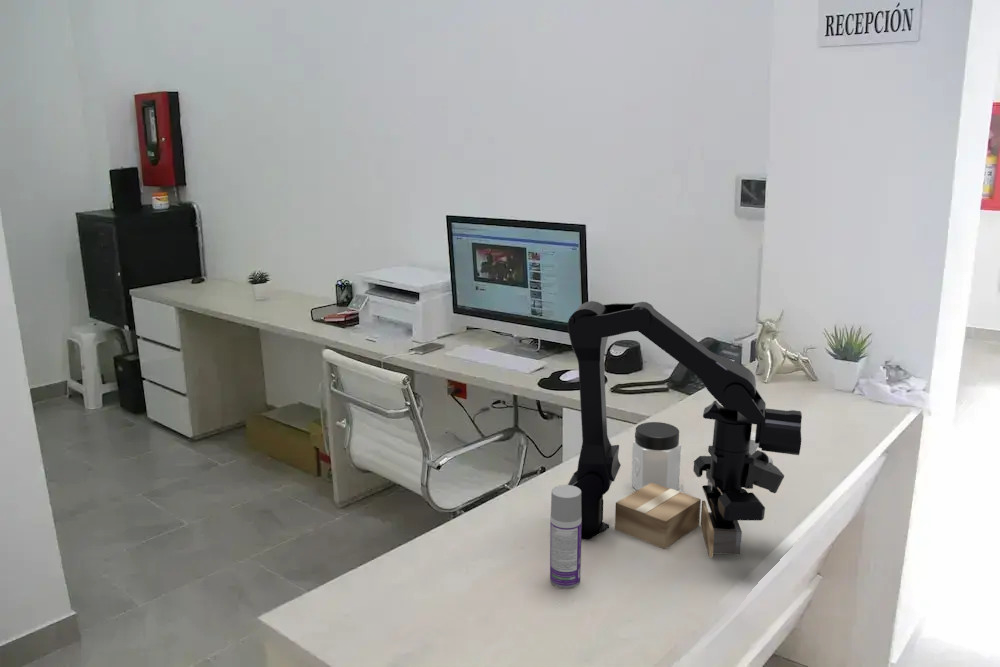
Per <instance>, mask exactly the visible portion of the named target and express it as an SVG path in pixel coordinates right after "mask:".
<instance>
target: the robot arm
mask: <svg viewBox="0 0 1000 667" xmlns="http://www.w3.org/2000/svg"><path fill="white" fill-rule="evenodd" d="M567 331H568V336H569V340H570V345H571V349H572V350H573V353H574V355H575V357H576V360H577V364H578V365H577V366H578V379H579V380H578V382H579V398H580V415H581V416H580V419H581V437H582V438H581V439H582V443H581V449H580V453H579V458H578V462H577V470H576V471H575V472H573V474H572V476H571V478H570V479H569V481H568V482H567V485H572V486H575V487H578V488H579V489H580V490H581V518H582V526H581V540H584V541H589V540H592V539H594V538H595V537H597V536H598V535H600V534H602V533H603V532H605V531H606V530H608V529H609V528H610V524H609V523H606V522H604V521H603V520H604V495H605V494H606V493H608V492H609V490H610V488H611V485H612V482H615V480H616V477H617V475H618V473H619V470H620V467H621V463H620V461H619V460H620V459H619V451H620V445H619V444H614V445H612V444H611V442H610V439H609V436H608V423H607V422H608V419H607V401H606V381H605V380H606V378H605V375H606V374H605V359H604V358H605V353H606V347H607V344H608V338H609V337H613V336H617V335H623V334H627V333H631V332H632V333H634V332H638V333H640V334H641V335H643V336H644V337H645V338H647V339H648V340H649V341H651V342H652V343H653V344H654V345H656V346H657V347H658V348H660V349H661V350H663V351H664V352H665V353H667V355H669V356H670V357H672V358H673V359H674V360H675V361H677V362H678V363H679V364H681V365H682V366H684V367H685V368H686V369H687V370H688V371H690V372H691V373H693V374H694V375H695V376H696V377H697V378H698V379H699V380H700V381H701V383H702V384H703V386H704V387H705V388H706V390H707V391H708V393H709V394H710V395H711V396H713V398H714V399H715V400H713V401H712V403H711V404H710V405H708V406H705V407H704V409H703V415H702V417H703V419H706V420H707V419H708V420H714V426H713V436H712V444H711V445H708V446H707V448H708V450H707V451H708V452H707V453H709V455H699V456H698V457H696V459H694V461H693V468H692V469H693V472H694V474H695V475H696V477H697V478H702V476H703V472H705V478H706V480H707V484H705V485H704V484H703V485H702V491H703V493H704V496H705V498H706V501H707V504H708V507H709V509H710V512H711V513H712V516H713V519H714V521H715V524H716V527H717V529H730V528H731V526H732V523H733V521H734V520H738V521H763V520H764V519H765V513H766V507H765V505H764V504H763V503H762V501H761V500H760V499H759V498H758V496H757V495H756V494H755V493H754V492H748V490H749V489H750V490H752V489H754V486H757V487H759V488H761V489H765V490H768V491H769V492H770V493H772V494H776V493H777V492H778V489H779V488H780V486H781V485H782V483H783V480H784V478H785V475H784V473H783V472H782V471H781V469H779V467H777V466H776V465H775V464H774V463H773V464H772V463H769V457H770V456H769V455H767V454H766V452H770V453H777V454H785V455H794V456H800V452H801V448H802V418H803V416H802V411H800V410H794V409H793V410H792V409H791V410H784V409H783V410H781V409H774V408H767V407H766V404H767V403H766V402H765V400H764V399H763V397H762V396H761V394H760V393H759V391H758V390H757V383H756V377H755V375H754V373H753V372H752V371H751V370H750V369H749V368H747V367H746V366H744V365H742V364H740V363H738V362H736V361H734V360H732V359H730V358H727V357H725V356H721V355H718V354H716V353H714V352H712V350H709V349H708V348H707V347H705V346H704V345H703V344H701V343H700V342H699V341H698V340H696V339H695V338H694V337H692V336H691V335H690V334H688V333H687V332H685V330H683V329H681V327H679V326H678V325H677V324H675V323H673V322H672V321H671V320H670V319H668V318H667V317H666V316H664V315H663V314H662V313H660V312H659V311H658V310H656V308H654V306H653V305H652V304H651V303H649V302H646V301H640V302H634V303H616V302H615V303H611V304H610V303H609V304H608V303H607V304H602V302H599V301H593V300H589V301H586V302H583V303H582V304H581V305H580V306H579V307H578V308H577V309H576V310H575V311H574V312H573V313H572V314H571V315H570V317H569V318H568V321H567ZM753 425H756V427H755V432H756V435H755V443H757V444H758V443H759V447H758V448H759V449H761V450H759V449H756V452H755V453H753V454H752V455H751V454H750V453H749V449H750V440H751V431H752V430H753V429H752V428H753V427H752V426H753ZM768 456H769V457H768ZM746 489H747V490H746Z"/></svg>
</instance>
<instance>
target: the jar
mask: <svg viewBox="0 0 1000 667" xmlns="http://www.w3.org/2000/svg"><path fill="white" fill-rule="evenodd" d="M634 438H635V439H634V440H632V456H631V458H632V459H631V460H632V461H631V482H630V484H631V486H632V487H633V488H634V490H636V491H637V490H639V489H641V488H643V487H644V486H646V485H648V484H650V483H651V482H652V483H655V484H658V485H661V486H664V487H667V488H670V489H674V490H677V491H679V490H680V471H681V456H682V455H681V453H682V452H681V451H682V444H681V443H680V430H679V429H678V427H676V426H675V425H672V424H670V423H665V422H661V421H651V422H650V421H647V422H643V423H640V424H638V425H636V427H635V432H634Z"/></svg>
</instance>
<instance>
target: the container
mask: <svg viewBox="0 0 1000 667" xmlns="http://www.w3.org/2000/svg"><path fill="white" fill-rule="evenodd" d="M550 498H551V499H550V524H549V525H550V531H549V532H550V533H549V534H550V535H549V536H550V539H549V540H550V542H549V545H550V546H549V547H550V549H549V555H550V557H549V562H550V563H549V564H550V565H549V578H550V579H549V581H550V583H551V585H553V587H557V588H558V589H565V590H568V589H574V588H576V587H578V586H579V585H580V583H581V572H582V571H581V570H582V569H581V566H582V563H581V562H582V538H581V526H582V518H581V490H580V489H579V488H578V487H575V486H572V485H568V484H561V485H557V486H554V487H552V488H551V496H550Z"/></svg>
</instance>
